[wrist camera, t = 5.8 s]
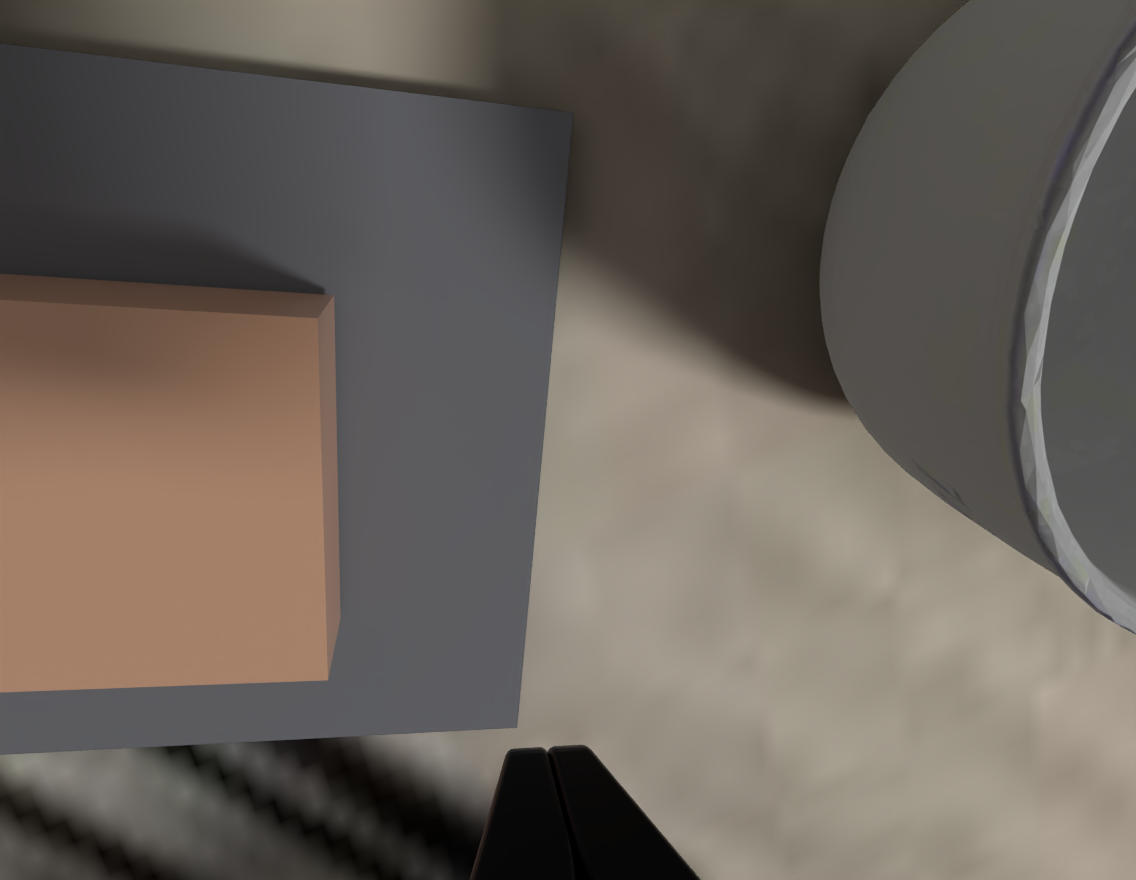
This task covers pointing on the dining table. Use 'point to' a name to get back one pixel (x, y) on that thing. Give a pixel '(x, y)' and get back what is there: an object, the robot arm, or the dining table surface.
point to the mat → (362, 354)
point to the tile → (166, 485)
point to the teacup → (1002, 281)
